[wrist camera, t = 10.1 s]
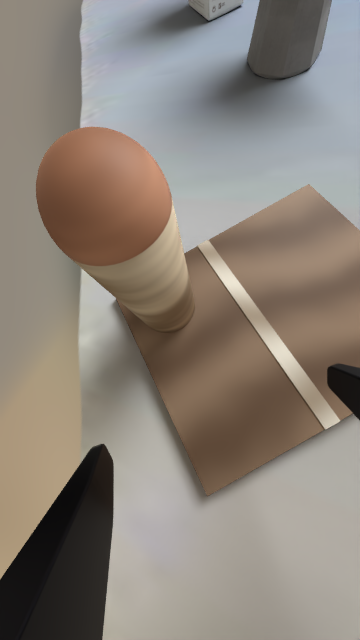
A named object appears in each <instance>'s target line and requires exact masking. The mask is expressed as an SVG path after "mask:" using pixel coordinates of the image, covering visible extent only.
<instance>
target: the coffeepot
mask: <svg viewBox="0 0 360 640" xmlns="http://www.w3.org/2000/svg"><path fill="white" fill-rule="evenodd" d="M331 2H332V0H260V2H259V7H258V11H257V16H256V20H255V25H254V29H253V34H252V38H251V43H250V48H249V52H248V57H247V61H248V63H249V66H250V68H251V70H252V71H253V72H254V73H255V74H257V75H259V76H261V77H264V78H270V79H282V78H288V77H291V76H295V75H297V74H300V73H302V72H304V71H305V70H307V69H308V68H310V67H311V66H312V64H313V63H314V62H315V60H316V58H317V56H318V54H319V53H320V51H321V49H322V44H323V40H324V35H325V30H326V26H327V21H328V16H329V11H330V7H331Z"/></svg>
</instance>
